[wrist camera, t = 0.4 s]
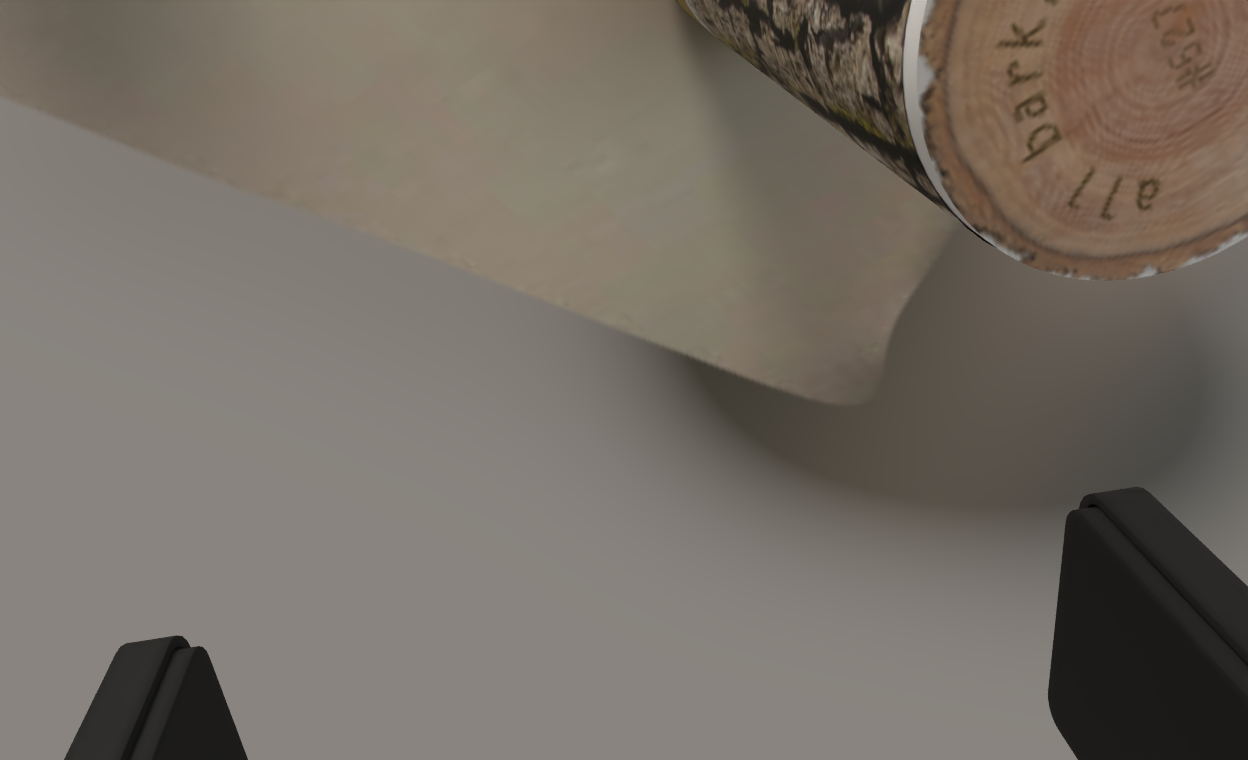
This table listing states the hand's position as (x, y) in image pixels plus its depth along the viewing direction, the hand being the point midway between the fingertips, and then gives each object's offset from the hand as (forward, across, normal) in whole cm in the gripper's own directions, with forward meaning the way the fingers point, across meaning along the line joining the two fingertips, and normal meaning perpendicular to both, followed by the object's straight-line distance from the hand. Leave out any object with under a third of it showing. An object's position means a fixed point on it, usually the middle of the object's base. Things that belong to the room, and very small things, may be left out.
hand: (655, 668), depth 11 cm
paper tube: (+30, -8, -5) cm, 31 cm away
